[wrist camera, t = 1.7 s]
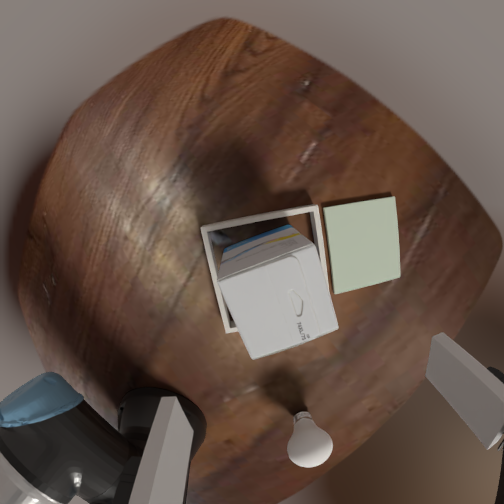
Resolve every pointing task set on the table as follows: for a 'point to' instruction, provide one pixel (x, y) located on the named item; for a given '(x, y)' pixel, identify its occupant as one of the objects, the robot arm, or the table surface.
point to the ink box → (276, 291)
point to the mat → (362, 243)
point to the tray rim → (205, 229)
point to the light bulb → (308, 442)
